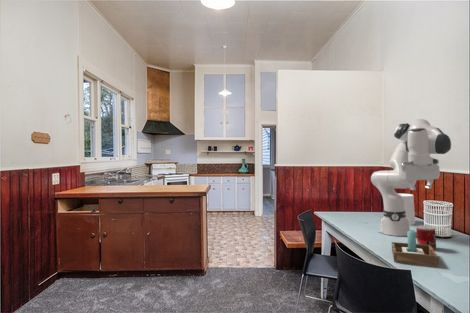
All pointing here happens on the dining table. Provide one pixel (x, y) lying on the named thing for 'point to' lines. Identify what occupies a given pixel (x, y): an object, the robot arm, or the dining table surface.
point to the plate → (419, 251)
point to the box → (415, 255)
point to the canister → (409, 207)
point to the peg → (411, 241)
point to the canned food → (426, 236)
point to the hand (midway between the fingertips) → (420, 189)
